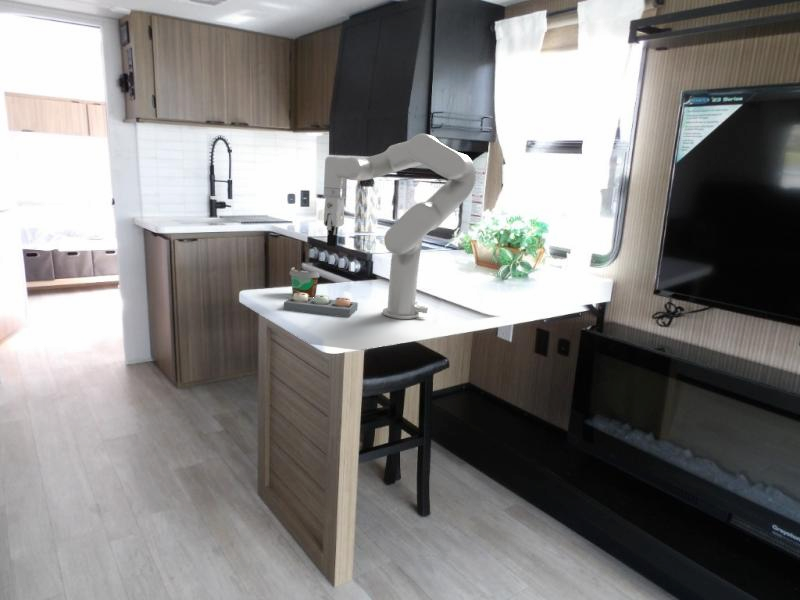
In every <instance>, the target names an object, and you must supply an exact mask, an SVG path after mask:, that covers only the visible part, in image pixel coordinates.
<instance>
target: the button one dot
mask: <svg viewBox="0 0 800 600" xmlns="http://www.w3.org/2000/svg"><path fill="white" fill-rule="evenodd" d="M329 299H330V296H328V295H324V294H316V296H315V297H314V304H321V305H328V304H329Z"/></svg>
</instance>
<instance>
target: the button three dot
mask: <svg viewBox="0 0 800 600" xmlns="http://www.w3.org/2000/svg"><path fill="white" fill-rule="evenodd" d="M335 300H336V301H335V306H339V307H347V308H349V307H350V302H351V298H348V297H342V296H340V297H336V298H335Z"/></svg>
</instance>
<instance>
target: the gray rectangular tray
mask: <svg viewBox="0 0 800 600" xmlns="http://www.w3.org/2000/svg"><path fill="white" fill-rule="evenodd" d="M293 298H294V296H293V295H292V297H290V298H288V299H287V300H285V301H284V302H283V310H284V309H285V310H286V311H293V310H294V311H293V312H301V311H303V312H304V313H309V312H310V313H309V314H318V313H320V314H319V315H326V314H328V315H329V316H335V315H337V317H343V316H344V317H345V318H350V317H352V315H354V314H355V313H356V312H357V311H358V306H359V303H358V302H355V301H350V307H349V308H347V307H339V306H335V301H336V299H331V298H329V304H328V305H321V304H314V298H313V297H308V302H307V303H304V302H296V301H293ZM285 310H284V311H285ZM355 311H356V312H355ZM328 315H327V316H328Z"/></svg>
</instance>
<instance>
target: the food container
mask: <svg viewBox="0 0 800 600" xmlns="http://www.w3.org/2000/svg"><path fill="white" fill-rule="evenodd" d="M289 276H291V289H292V296H293V295H294V293H307V294H308V297H315V296H316V295H317V287H318V279H319V278H320V273H319V271H312V272H311V271H309V270H300V269H295V267H294V266H293V267H291V269H290V270H289Z"/></svg>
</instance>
